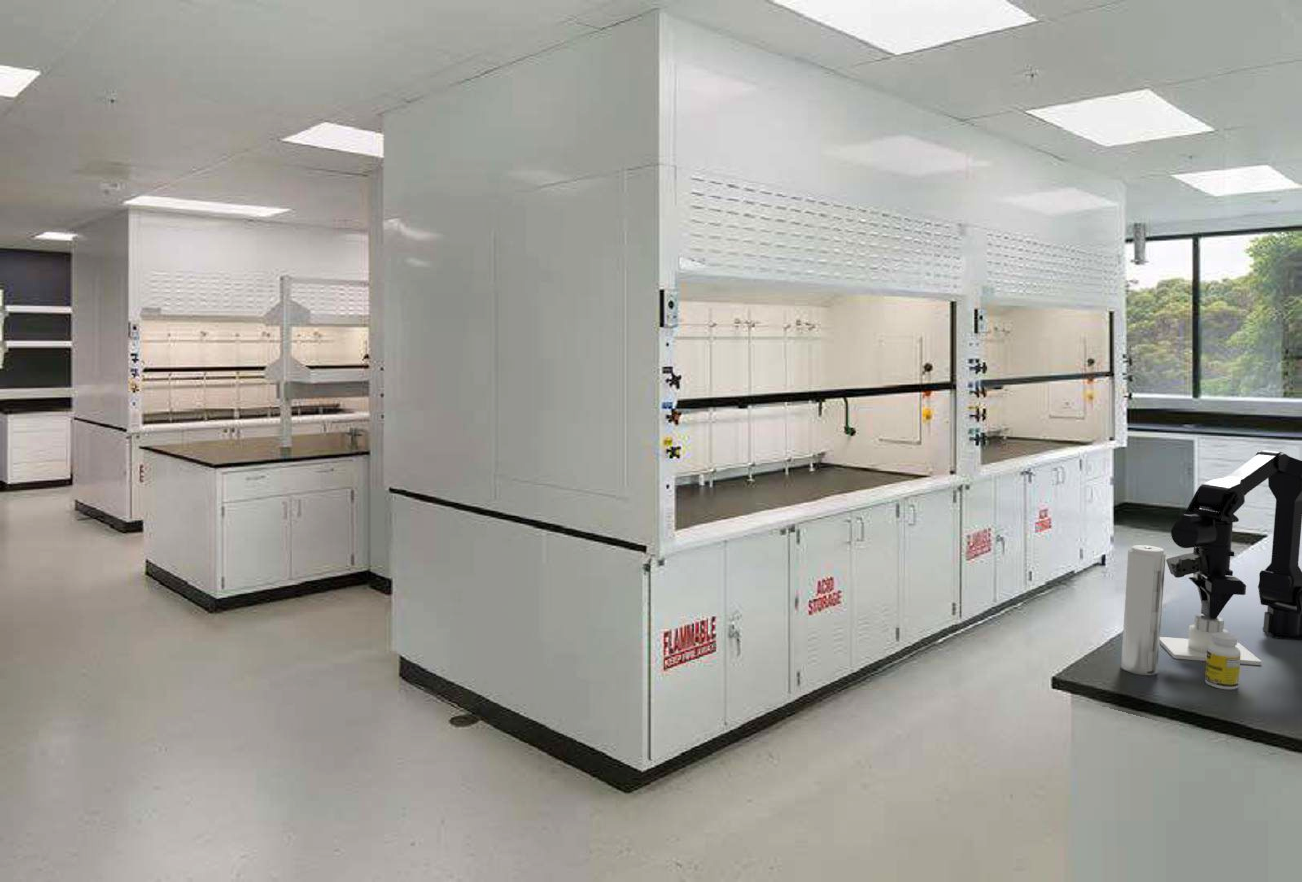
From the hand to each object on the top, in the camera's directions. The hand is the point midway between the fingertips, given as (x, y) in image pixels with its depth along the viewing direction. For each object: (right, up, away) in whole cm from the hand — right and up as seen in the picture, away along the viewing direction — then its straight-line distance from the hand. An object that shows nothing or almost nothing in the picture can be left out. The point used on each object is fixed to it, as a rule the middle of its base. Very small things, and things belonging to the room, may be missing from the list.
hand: (1209, 616), depth 189 cm
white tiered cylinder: (0, -8, +1) cm, 8 cm away
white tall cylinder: (-20, -9, -10) cm, 24 cm away
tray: (0, -8, +1) cm, 8 cm away
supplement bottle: (-9, -10, -18) cm, 22 cm away
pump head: (0, -3, 0) cm, 3 cm away
